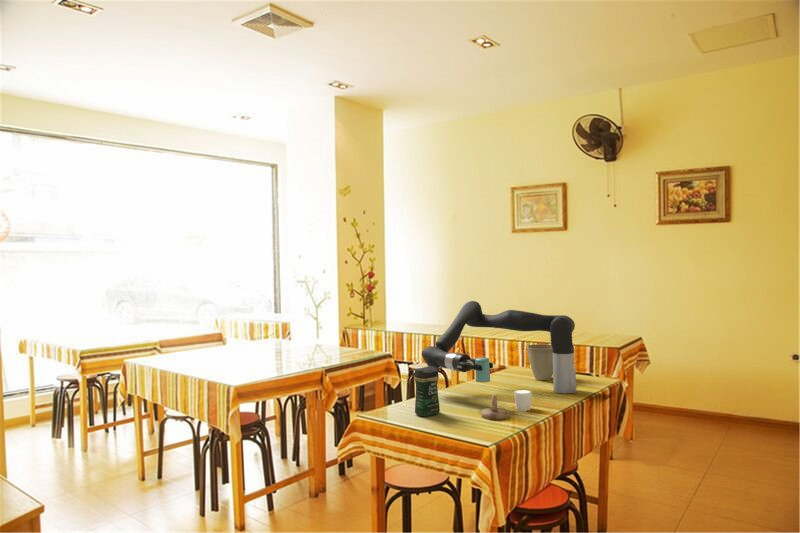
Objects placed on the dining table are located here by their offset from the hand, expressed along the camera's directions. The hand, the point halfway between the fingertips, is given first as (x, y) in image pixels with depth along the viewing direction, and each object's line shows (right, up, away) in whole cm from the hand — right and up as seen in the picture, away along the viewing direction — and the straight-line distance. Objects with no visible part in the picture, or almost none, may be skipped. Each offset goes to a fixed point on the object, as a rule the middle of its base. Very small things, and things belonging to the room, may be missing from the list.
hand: (487, 366), depth 230 cm
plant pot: (+35, -15, +48) cm, 61 cm away
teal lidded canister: (-1, -6, +2) cm, 7 cm away
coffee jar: (-24, -18, -4) cm, 30 cm away
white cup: (+14, -17, -2) cm, 22 cm away
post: (+1, -17, -11) cm, 20 cm away
